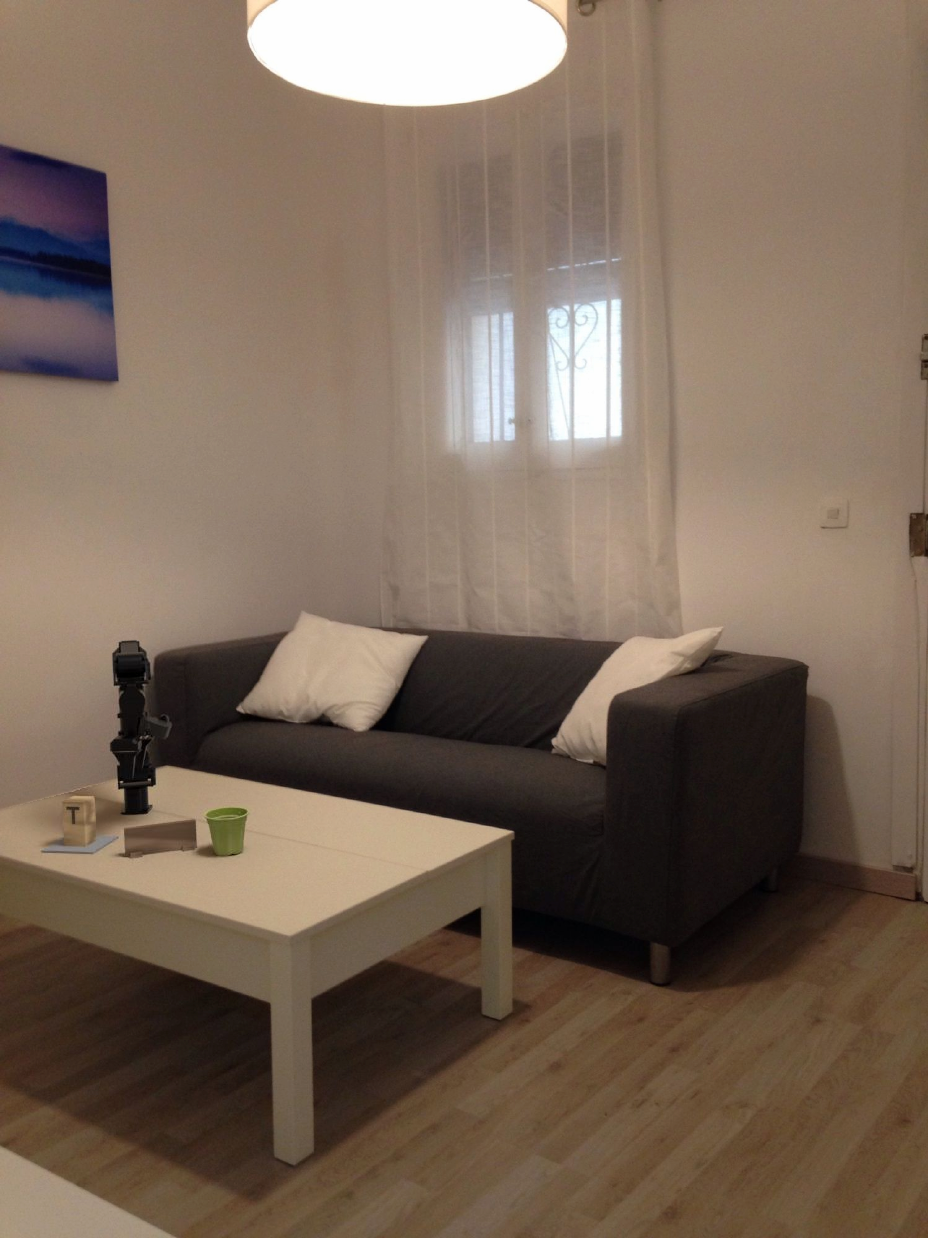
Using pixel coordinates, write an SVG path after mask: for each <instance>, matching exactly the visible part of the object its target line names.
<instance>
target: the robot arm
mask: <svg viewBox="0 0 928 1238" xmlns="http://www.w3.org/2000/svg"><path fill="white" fill-rule="evenodd" d="M111 661H112V662H111V663H112V676H113V678H112V679H113V687H118V688H117V689H118V690H117V691H118V710H119V712H118V713H116V718H117V719H119V730H118V732H117V736H115V738H113V739H112V740H111V742H109V751H110V752H111V753H112V754H113V755H114V757H115V759H116V760H117V762H118V764H117V765H116V776H117V790H118V791H119V790H123V799H124V800H123V801H124V807H123V809H122V810H121V811H120V815H133V814H134V815H137V814H139V815H140V814H148V813H149V812H150V810H151V809H152V808H153V804H149V788H150V787H151V788H153V787H154V786H156V785H157V775H156V774H157V772H156V767H155V765H154V764H153V762H152V761H150V754H149V752H148V750H147V749H148V746H149V745H150V743H151V742H152V741H153V740H154V739H155V737H156V738H158V739H160V740H166V738H168V737H169V734H170V731H171V729H172V726H173V724H172V722H171V721H170V717H169V715H167V714H161V715H160V716H159V717H158V718H157V716H156V717H152V716H150V712H149V711H148V709H146V695H145V686H144V685H148V684H149V683H150V682H149V681H151V680H152V673H151V662H150V661H149V658H148V653H147V650H145V649H144V648H143V647H142V646H141V644H140V640H137V639H131V640H129V639H128V640H120V641H118V647H117V648H115V649H114V651H113V652H112V654H111ZM149 736H150V737H149Z"/></svg>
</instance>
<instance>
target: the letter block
mask: <svg viewBox="0 0 928 1238" xmlns="http://www.w3.org/2000/svg"><path fill="white" fill-rule="evenodd" d="M95 801H96V800H95V796H93V795H88V796H87V795H72V796H71V797H69V798H67V799H64V800H63V801H62V802H61V804H62V805H61V807H62V808H61V809H62V825H63V838H64V846H75V847H86V846H88V845H90V844H91V843H93V842H94V841H96V840H97V838H96V835H97V825H96V824H97V823H96V822H97V820H96V819H97V818H96V804H95V803H96V802H95Z"/></svg>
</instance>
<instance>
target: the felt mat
mask: <svg viewBox="0 0 928 1238" xmlns="http://www.w3.org/2000/svg"><path fill="white" fill-rule="evenodd" d="M119 837H120V836H119V835H99V834H96V838H97V840H96V841H94V842H93V843H91V844H90V845H88V846H86V847H75V846H64V837H62V838H60V839H58V840H57V841H55V842H54V843H52V844H50V845H48V846H47V847H45V848H43V849H41V853H52V854H53V853H55V854H57V853H58V854H59V853H60V854H79V855H81V854H83V855H85V854H86V855H94V854H95V853H97V852H98V851H100V850H102V849H104V848H105V847H107V846H108V845H110V844H111V843H113V842H114V841H116V840H118V839H119Z"/></svg>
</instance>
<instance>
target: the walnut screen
mask: <svg viewBox="0 0 928 1238" xmlns="http://www.w3.org/2000/svg"><path fill="white" fill-rule="evenodd" d="M197 837H198V836H197V820H196V819H194V818H192V819H184V820H183V819H182V820H177V821H168V822H160V823H159V822H158V823H152V824H145V825H143V824H142V825H137V826H127V827H123V838H124V839H123V841H124V856H125V858H130V859H134V858H141V857H143V855H152V854H158V853H166V852H173V851H180V850H182V852H186V851H194V850H195V848H198V842H197V841H198V839H197Z"/></svg>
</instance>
